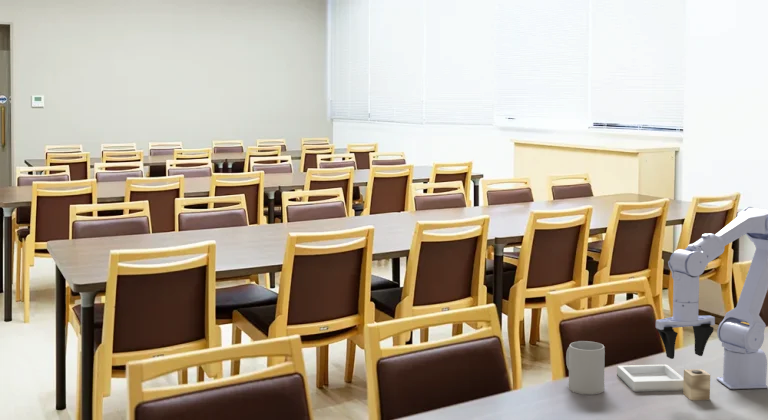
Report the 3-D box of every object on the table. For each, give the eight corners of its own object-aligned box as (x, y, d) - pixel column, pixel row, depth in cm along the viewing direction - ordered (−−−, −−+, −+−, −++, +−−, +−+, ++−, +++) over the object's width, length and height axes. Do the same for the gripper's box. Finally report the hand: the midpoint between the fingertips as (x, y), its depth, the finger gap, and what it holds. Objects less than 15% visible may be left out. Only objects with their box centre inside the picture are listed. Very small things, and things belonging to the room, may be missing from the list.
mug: (611, 391, 203) (612, 347, 202) (582, 397, 200) (583, 352, 199) (580, 377, 214) (581, 336, 213) (553, 382, 211) (553, 340, 210)
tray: (666, 373, 216) (666, 364, 216) (686, 390, 204) (686, 380, 203) (616, 375, 216) (617, 365, 216) (633, 391, 203) (634, 381, 203)
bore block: (701, 393, 201) (702, 368, 201) (709, 399, 197) (710, 374, 196) (683, 393, 201) (683, 369, 201) (690, 400, 197) (691, 374, 196)
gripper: (703, 294, 203) (701, 349, 205) (649, 298, 200) (648, 354, 202) (720, 301, 197) (719, 357, 198) (665, 305, 193) (664, 362, 195)
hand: (684, 356), depth 199 cm, fingers open, 7 cm apart
